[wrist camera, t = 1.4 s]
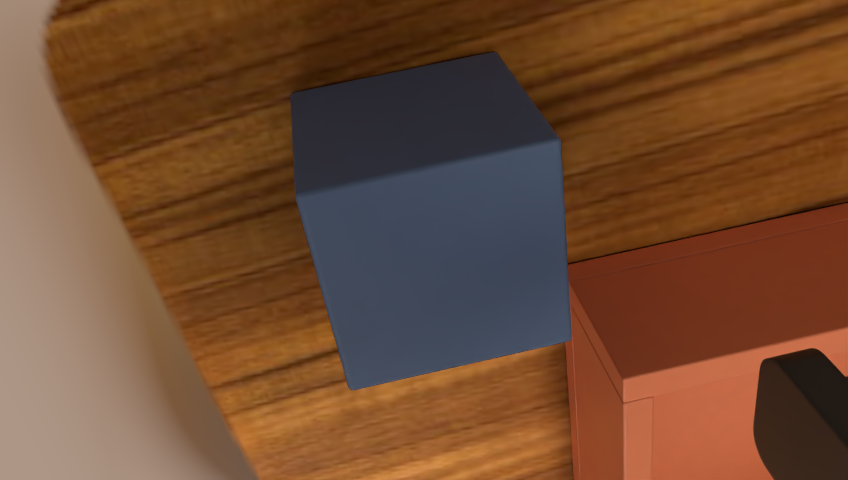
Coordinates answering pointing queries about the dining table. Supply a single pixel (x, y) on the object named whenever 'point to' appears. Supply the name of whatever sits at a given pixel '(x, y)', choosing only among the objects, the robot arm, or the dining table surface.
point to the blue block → (432, 217)
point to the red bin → (697, 344)
